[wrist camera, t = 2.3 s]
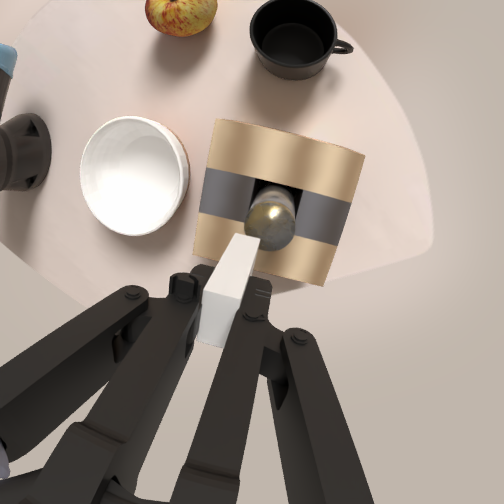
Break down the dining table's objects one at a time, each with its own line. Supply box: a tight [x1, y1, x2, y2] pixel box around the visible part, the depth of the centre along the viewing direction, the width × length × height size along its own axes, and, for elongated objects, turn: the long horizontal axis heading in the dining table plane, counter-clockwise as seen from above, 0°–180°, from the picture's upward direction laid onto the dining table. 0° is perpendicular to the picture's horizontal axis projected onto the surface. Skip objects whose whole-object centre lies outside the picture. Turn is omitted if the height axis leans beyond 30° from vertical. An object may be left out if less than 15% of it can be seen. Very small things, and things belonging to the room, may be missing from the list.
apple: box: [145, 0, 217, 37], centre depth 27 cm, size 9×9×10 cm
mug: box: [250, 0, 354, 80], centre depth 29 cm, size 9×12×9 cm
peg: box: [244, 183, 295, 251], centre depth 30 cm, size 4×4×9 cm
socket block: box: [193, 119, 365, 286], centre depth 37 cm, size 16×16×10 cm
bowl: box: [80, 116, 190, 236], centre depth 38 cm, size 16×16×8 cm
